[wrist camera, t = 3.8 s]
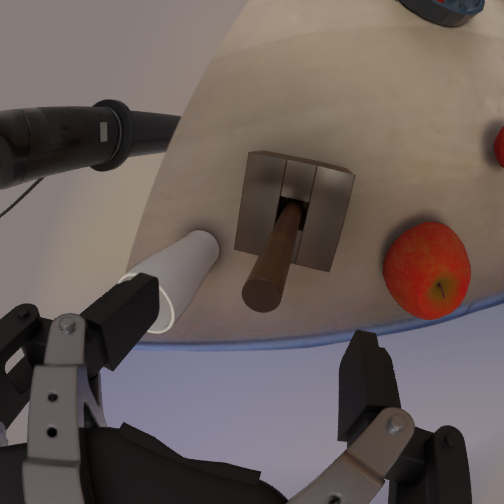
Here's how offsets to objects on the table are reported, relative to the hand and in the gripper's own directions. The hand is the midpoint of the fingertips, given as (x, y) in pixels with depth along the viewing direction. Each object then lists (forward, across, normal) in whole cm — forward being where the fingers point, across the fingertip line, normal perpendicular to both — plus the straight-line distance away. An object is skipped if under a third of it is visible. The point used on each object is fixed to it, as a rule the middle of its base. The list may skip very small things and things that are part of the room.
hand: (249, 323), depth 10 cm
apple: (+24, -17, +3) cm, 30 cm away
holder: (+24, 0, 0) cm, 24 cm away
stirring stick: (+24, 0, 0) cm, 24 cm away
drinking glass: (+24, +11, +9) cm, 28 cm away
